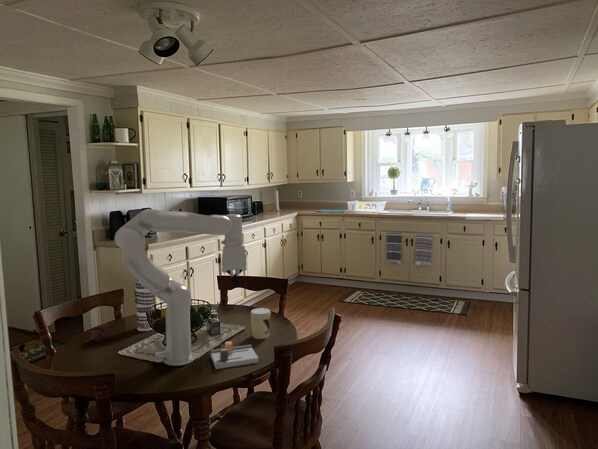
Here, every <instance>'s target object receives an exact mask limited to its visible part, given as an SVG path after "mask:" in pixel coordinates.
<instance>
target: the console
mask: <svg viewBox="0 0 598 449" xmlns="http://www.w3.org/2000/svg"><path fill="white" fill-rule="evenodd" d="M224 348H225V347H224ZM224 348H222V349H224ZM220 349H221V348H216V349H210V358H211V360H212V363H213V365H214V368H215V370H218V369H225V368H230V367H231V368H232V367H238V366H245V365H251V364H252V363H253V364H257V363H259V356H258V355H257V353H256V352H255V351H254V349H253V346H252V344H244V345H240V346H239V345H237V346H233V354H228V361H224V362H222V361H221V359H220Z"/></svg>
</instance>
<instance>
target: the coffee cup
mask: <svg viewBox="0 0 598 449" xmlns="http://www.w3.org/2000/svg"><path fill="white" fill-rule="evenodd" d="M271 314H272V312H271V310H270V308H265V307H258V308H253V309H252V310H251V311H250V319H251V320H250V321H251V323H250V324H251V331H252V338H254V339H257V340H264V339H268V338H269V337H270V331H271Z"/></svg>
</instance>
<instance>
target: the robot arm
mask: <svg viewBox="0 0 598 449" xmlns="http://www.w3.org/2000/svg"><path fill="white" fill-rule="evenodd" d="M242 219H243V216H242V215H241V214H237V213H230V214H226V215H225V214H221V215H220V214H211V215H206V214H199V213H194V212H190V211H189V212H188V211H178V210H177V211H176V210H175V211H174V210H164V209H163V210H162V209H153V208H147V209H143V210H142V211H141V212H139V213H138V214H136V215H135V216H134V217H133V218H131V219H129V221H127V222H126V223H125V224H124V225H122V226H121V227H120V228H119V229H118V230H117V231H116V232H115V235H114V243H115V244H116V246H117V247H119V248H120V249H121V258H122V259H121V260H122V263H123V266H124V268H125V269H126V270H127V271H128V272H129V273H130V274H132V275H133V276H134V277H135V278H136V280H137V279H138V281H139V283H140V284H141V285H142V286H143V287H145V288H146V289H147V290H148V291H150V292H151V293H152V294H153V295H154V297H156V298H157V299H159V300H160V301H161V302H164V303H165V304H166V309H165V335H166V336H165V337H166V347H165V350H163V351H156V352H155V353H154V354H155V358H158V359H160V360H161V359H162V360H163V363H164V364H165V365H166V366H167V365H168V366H172V367H173V366H174V367H176V366H178V367H179V366H184V365H189V364H190V363H192V362H193V361H195V360H196V354H195V353H194V352H192V337H191V336H192V335H191V303H192V293H191V291H190V290H189V287H187V286H186V285H185V284H182V283H180V282H178V281H176V280H174V279H173V278H172V277H170V275H169V273H168V272H167V271H166V270H165V269H164V268H162V267H161V266H159V265H158V264H157V263H155V261H154V260H152V259H151V258H150V257H149V256H148V255H147V254H146V251H145V247H146V237H145V236H146V235H148V234H149V233H150V232H155V233H173V234H174V233H177V234H188V235H189V234H191V235H194V234H197V235H198V234H199V235H213V236H214V235H217V236H224V239H223V240H221V242H220V244H221V245H224V246H223V247H222V253H221V254H222V256H221V266H222V267H221V273H227V274H228V275H229V276H230V283H231V285H232V286H237V285H238V283H239V275H240V274H241V273H242V272H246V271H247V270H248V269H247V265H248V264H247V254H246V248H245V245H243V220H242Z"/></svg>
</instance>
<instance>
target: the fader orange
mask: <svg viewBox="0 0 598 449" xmlns="http://www.w3.org/2000/svg"><path fill="white" fill-rule="evenodd" d="M224 346H225V347H224V348H226V349H227V351H228V354H233V347H234V346H233V341H225V344H224Z"/></svg>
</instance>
